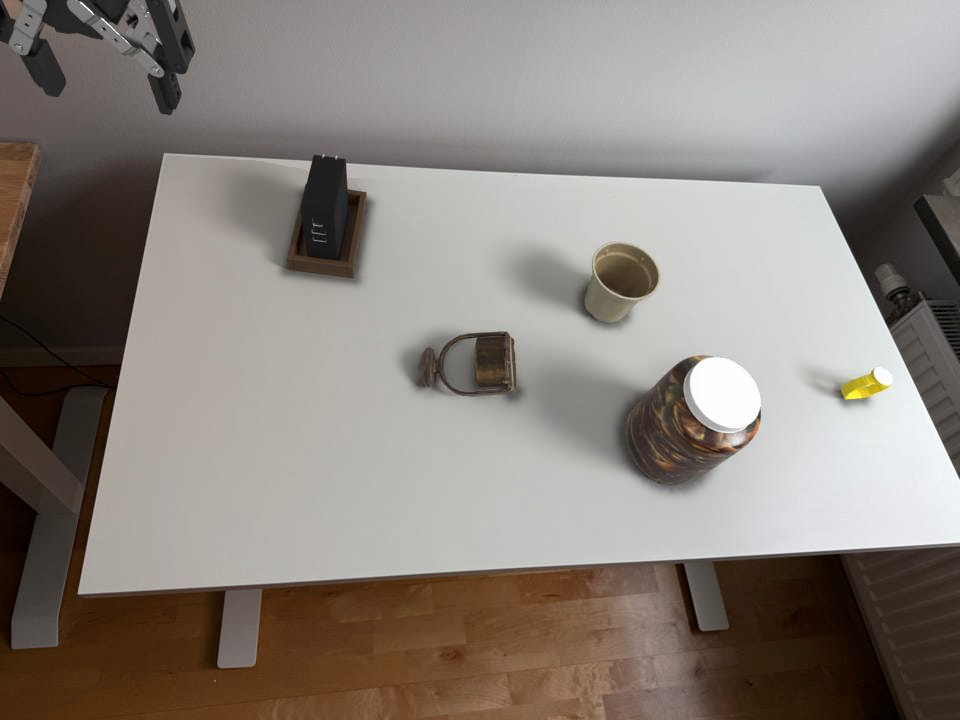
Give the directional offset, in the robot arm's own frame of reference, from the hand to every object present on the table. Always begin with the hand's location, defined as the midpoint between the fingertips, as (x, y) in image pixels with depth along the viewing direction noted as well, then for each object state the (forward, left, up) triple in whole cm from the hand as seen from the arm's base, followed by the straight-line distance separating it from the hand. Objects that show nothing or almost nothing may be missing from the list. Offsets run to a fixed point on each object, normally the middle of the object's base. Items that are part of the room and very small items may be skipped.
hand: (114, 99), depth 49 cm
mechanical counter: (+34, -4, -32) cm, 47 cm away
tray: (+13, +15, -32) cm, 37 cm away
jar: (+60, -11, -32) cm, 69 cm away
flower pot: (+53, +9, -32) cm, 62 cm away
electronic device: (+13, +15, -31) cm, 37 cm away
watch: (+89, -1, -32) cm, 94 cm away
